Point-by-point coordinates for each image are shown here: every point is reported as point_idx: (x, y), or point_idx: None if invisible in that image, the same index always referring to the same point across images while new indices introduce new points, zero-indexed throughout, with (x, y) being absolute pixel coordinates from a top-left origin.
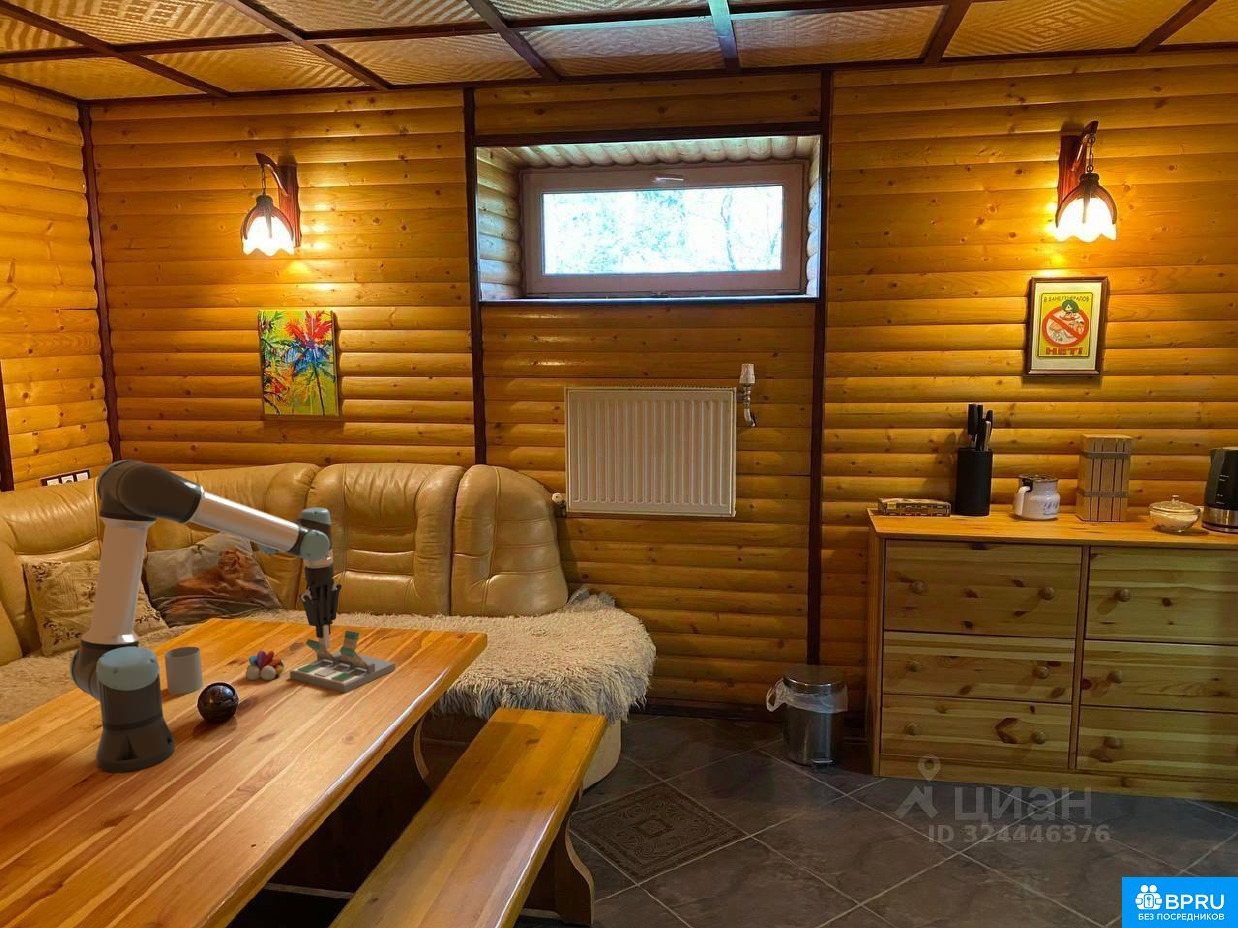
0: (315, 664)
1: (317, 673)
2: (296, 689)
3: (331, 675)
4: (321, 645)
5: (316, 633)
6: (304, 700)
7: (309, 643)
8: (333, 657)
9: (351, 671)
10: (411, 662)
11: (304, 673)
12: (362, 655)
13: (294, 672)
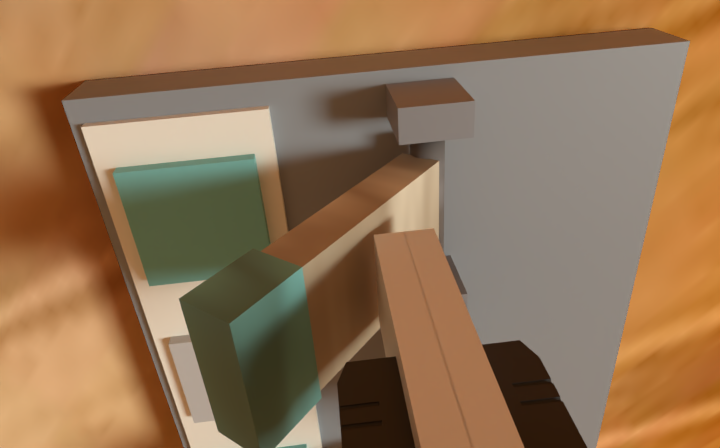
0: (312, 153)
1: (180, 364)
2: (30, 298)
3: None
4: (311, 398)
5: (341, 414)
6: (5, 444)
7: (202, 358)
8: None
9: None
10: (686, 433)
11: (128, 261)
12: (630, 280)
13: (83, 161)
